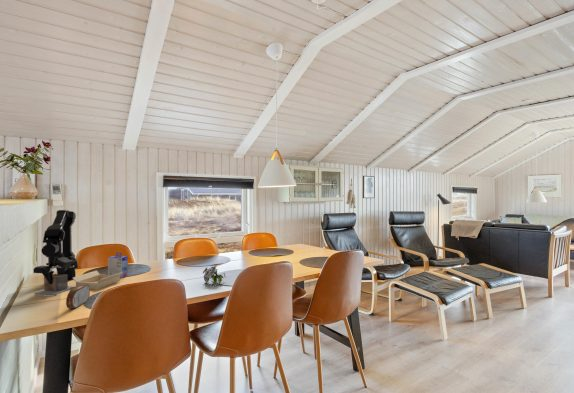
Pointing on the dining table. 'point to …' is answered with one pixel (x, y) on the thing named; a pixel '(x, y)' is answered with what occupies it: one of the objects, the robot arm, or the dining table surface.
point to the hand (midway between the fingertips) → (55, 282)
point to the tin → (77, 296)
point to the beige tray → (96, 279)
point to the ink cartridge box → (118, 265)
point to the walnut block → (56, 282)
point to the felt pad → (52, 293)
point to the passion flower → (212, 275)
